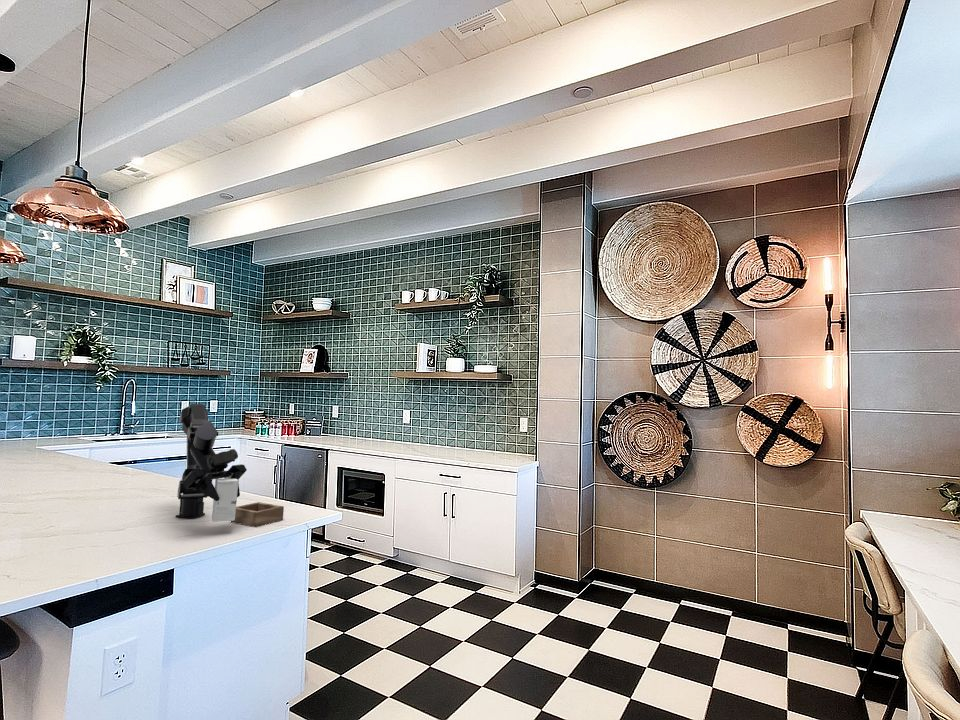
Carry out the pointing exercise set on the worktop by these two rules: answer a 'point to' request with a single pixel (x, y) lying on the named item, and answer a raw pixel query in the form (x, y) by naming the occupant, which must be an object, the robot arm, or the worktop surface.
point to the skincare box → (225, 500)
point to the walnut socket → (258, 514)
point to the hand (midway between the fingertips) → (228, 498)
